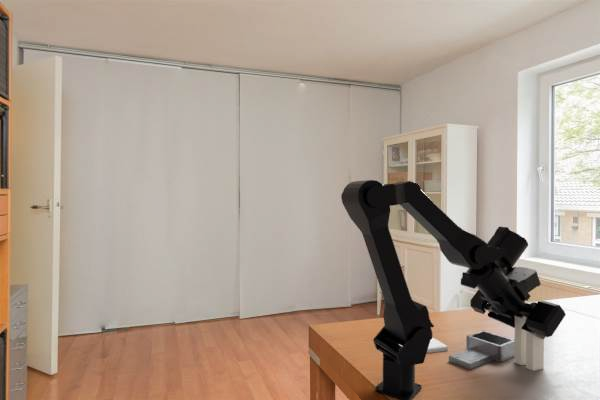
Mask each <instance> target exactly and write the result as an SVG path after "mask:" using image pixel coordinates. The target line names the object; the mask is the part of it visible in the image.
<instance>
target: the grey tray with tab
mask: <svg viewBox="0 0 600 400" xmlns="http://www.w3.org/2000/svg"><path fill="white" fill-rule="evenodd" d="M465 347H466V349H464V350H461V351H458V352H455V353H452V354H449V355H448V362H450V363H452V364H455V365H457V366H460V367H462V368H465V369H467V370H473V369H475V368H478V367H480V366H483V365H485V364H487V363H491V362H492V361H496V362H498V363H503V362H505V361H508V360H510V359H512V358H514V350H515V339H514V338H510V337H506V336H502V335H499V334H497V333H494V332H493V333H492V332H490V331H486V330H480V331H476V332H474V333H470V334H466V346H465Z"/></svg>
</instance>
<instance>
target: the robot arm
mask: <svg viewBox="0 0 600 400" xmlns="http://www.w3.org/2000/svg"><path fill="white" fill-rule="evenodd" d="M340 198H341V203H342V205H343V207H344V209H345V211H346V213H347V215H348V216H349V218H350V219H351V221H352V222H353V224H355V226H356V227H357V228H358V229H359V230H360V232H361V234H362V237H363V240H364V242H365V246H366V249H367V252H368V256H369V258H370V261H371V264H372V267H373V269H374V272H375V276H376V279H377V282H378V285H379V288H380V291H381V293H382V297H383V301H384V309H383V314H382V316H383V324H384V325H383V327H382V328H381V329H380V330H379V332H378V333H377V334H376V335H375V336H374V338H373V340H372V341H373V344H374V347H375V349H376V350H377V351H380V352H381V353H382V380H381V381H380V382H379V383H378V384H377V385H376V386H375V387H374V389H375V390H374V391H376V392H378V393H380V394H381V393H382V394H385V395H387V396H390V397H393V398H396V399H399V400H411V399H412V398H414V397H415V396H416V395H417V394H418V392H419V393H420V391H421V389H422V388H423V387H422V384H420V383H416V365H420V364H424V362H425V358H426V356H427V354H428V353H427V350H428V346H429V343H430V340H431V339H432V337H433V330H432V328H434V327H435V325H434V324H433V322H432V321H431V318H430V313H429V309H428V307H427V305H424V304H422V303H419V302H417V301H414V300H413V299H412V296H411V293H410V290H409V286H408V284H407V281H406V278H405V274H404V272H403V268H402V265H401V262H400V259H399V255H398V252H397V249H396V247H395V243H394V241H393V238H392V235H391V232H390V227H389V221H390V215H391V207H392V206H399V205H400V206H401V208H403V210H405V211H406V212H407V214H408V215H410V216H411V217H412V218H413V219H414V220H415V221H416V222H418V224H419V225H421V226H422V227H423V228H424V229H425V230H426V231H427V232H428V233H429V234H430V235H431V236H432V237H433V238H434V239H435V240H436V241H437V243H438V245H439V249H440V252H441V253H442V254H443V256H444V257H445V258H446V260H447V261H448V262H449V263H450V264H452V265H455V266H459V267H464V268H467V270H466V272H462V275H461V278H460V285H461V286H464V287H467V288H471V289H478V290H477V291H475V294H474V295H473V297H472V298H471V299H470V307H471V309H473V311H474V312H476V313H479V314H481V315H484V314H485V313H486V312H487V311H488V313H487V317H488V318H490V319H493V320H495V321H498V322H500V323H502V324H505V325H506V326H509V327H512V328H513V329H515V317H518V318H523V316H524V317H525V319H526V320H525V321H526V322H525V323H524V325H523V326H522V328H521V329H523V330H525V331H527V332H529V333H531V334H533V335H535V336H537V337H539V338H541V339H544V340H545V339H546V338H551V337H552V336H553V334H554V333H555V332H556V330H557V329H558V327H559V325H560V324H561V322H562V321H563V320H564V318H565V317H566V312H565V310H564V309H563V308H562V306H561V305H560V304H557V303H553V302H551V301H550V302H549V301H546V300H538V301H537V302H536V301H535V302H533V301H532V302H531V303H527V302H526V301H528V300H530V298H531V295H530V293H531V292H532V291H533V290H534V289H536V288H539V287H540V286H541V281H540V278H539V275H538V271H537V270H536V269H534V268H528V267H524V266H515V265H516V263H517V262H518V261H519V259H520V258H521V256H522V255H523V253H524V252H525V250H526V249H527V248H528V246H529V244H528V241H527V239H526V238H525V237H523V236H521V235H520V234H518V233H517V232H515V231H512V230H511V229H509V227H508V226H498V227H497V228H496V230H495V232H494V234H493V235H492V237H491V238H490V239H489V240H488V242H486V241H485V240H484V239H482V238H480V237H479V236H477V235H476V234H474V233H472V232H470V231H468V230H465V228H464V229H463V228H462V227H460V226H458V224H456V223H455V222H454V221H453V219H452V218H451V217H449V216H448V215H447V214H446V213H445V212H444V210H442V209H441V208H440V206H438V205H437V204H436V203H435V202H434V201H433V200H432V199H431V198H430V196H428V195H427V194H426V193H425V192H424V191H423V189H422V188H421V186H420V185H419V184H418V183H416V181H413V180H407V181H406V180H404V181H397V182H394V183H386V184H385V183H381V182H380V181H378V180H375V179H369V180H368V179H366V180H355V181H351V182H349V183H347V185H345V187H344V189H343V191H342V193H341V197H340ZM399 344H400V345H399ZM401 345H402V346H403V347H402V346H401Z"/></svg>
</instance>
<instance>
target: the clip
mask: <svg viewBox="0 0 600 400" xmlns="http://www.w3.org/2000/svg"><path fill="white" fill-rule="evenodd" d="M525 320H526V319H525V317H524V316H523V318H518V317H515V328H514V340H515V350H514V357H513V358H514V363H515V364H517V365H519V366H524V365H525V368H526V369H527V370H530V371H532V372H533V371H534V372H535V371H539V370H544V369H545V368H544V367H545V366H544V365H545V364H544V362H545V361H544V360H545V359H544V358H545V356H544V351H545V350H544V349H545V346H544V345H545V338H544V339H541V338H539V337H537V336H535V335H533V334H531V333H529V332H527V331H525V330H523V329H521V328H522V326H523V325H524V323H525V322H526V321H525Z"/></svg>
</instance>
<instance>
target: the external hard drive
mask: <svg viewBox="0 0 600 400" xmlns="http://www.w3.org/2000/svg"><path fill="white" fill-rule="evenodd" d="M399 345H400V344H399ZM401 346H402V345H401ZM402 347H403V346H402ZM447 351H449V348H448V345H446V344H444V343H443V342H441V341H439V340H438V339H436V338H434V337H433V336H432V339H431V340H430V343H429V346H428V350H427V353H426V354H430V353H431V354H432V353H438V352H439V353H440V352H447Z"/></svg>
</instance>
